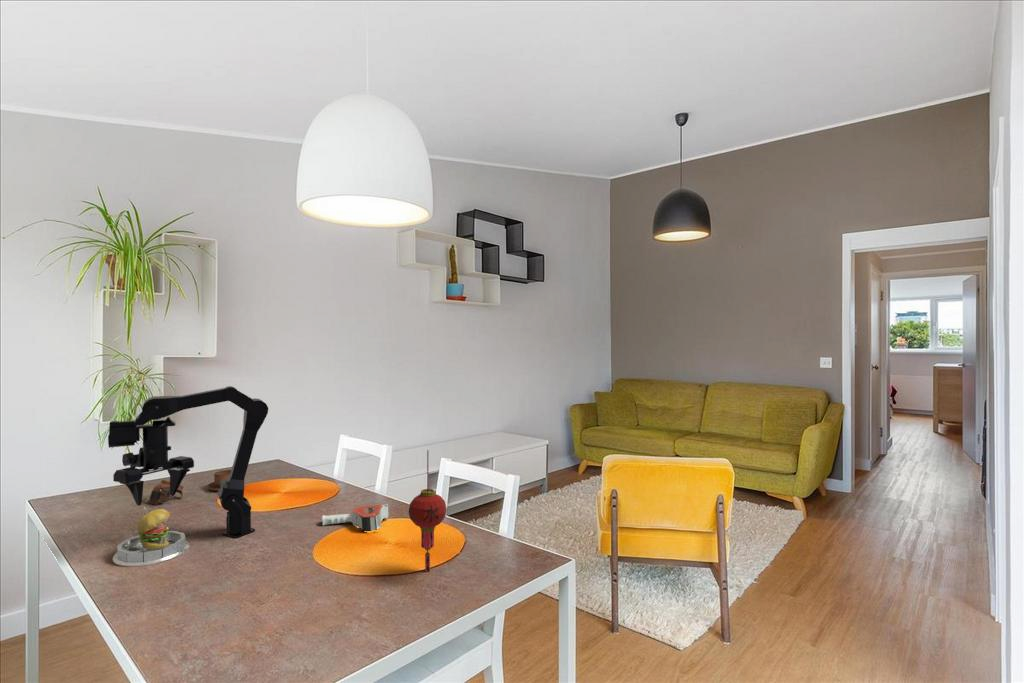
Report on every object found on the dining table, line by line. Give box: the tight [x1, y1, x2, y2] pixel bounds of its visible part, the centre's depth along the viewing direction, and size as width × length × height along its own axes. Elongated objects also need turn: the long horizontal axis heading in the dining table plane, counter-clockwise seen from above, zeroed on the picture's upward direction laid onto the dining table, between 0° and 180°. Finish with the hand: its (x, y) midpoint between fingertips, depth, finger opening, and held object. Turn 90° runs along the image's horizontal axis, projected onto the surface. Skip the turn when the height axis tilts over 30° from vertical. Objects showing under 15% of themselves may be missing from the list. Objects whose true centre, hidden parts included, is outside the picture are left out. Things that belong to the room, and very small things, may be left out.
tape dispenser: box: [321, 503, 389, 532], centre depth 168 cm, size 18×5×20 cm
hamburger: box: [137, 506, 171, 550], centre depth 146 cm, size 8×7×12 cm
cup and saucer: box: [206, 469, 232, 492], centre depth 205 cm, size 12×12×6 cm
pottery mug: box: [148, 479, 184, 506], centre depth 189 cm, size 12×10×8 cm
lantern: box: [408, 450, 448, 573], centre depth 135 cm, size 10×10×30 cm
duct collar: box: [112, 530, 190, 568], centre depth 146 cm, size 17×17×3 cm
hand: (156, 500), depth 149 cm, fingers open, 9 cm apart
